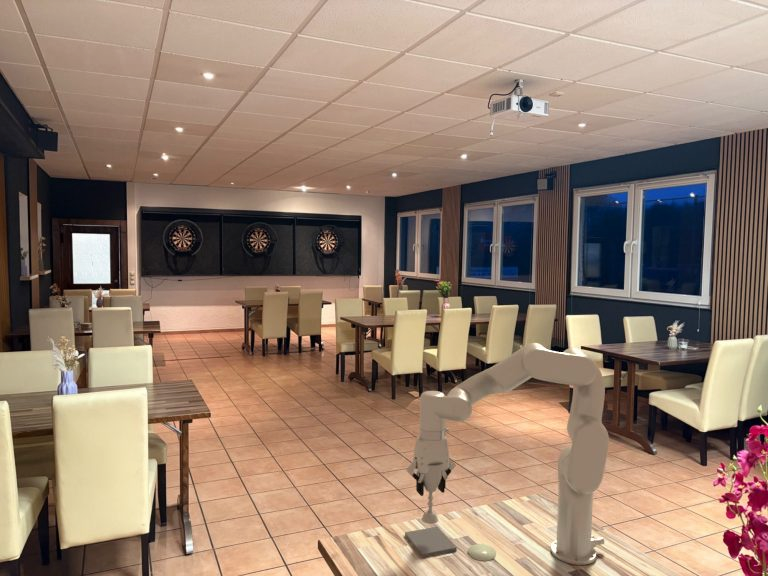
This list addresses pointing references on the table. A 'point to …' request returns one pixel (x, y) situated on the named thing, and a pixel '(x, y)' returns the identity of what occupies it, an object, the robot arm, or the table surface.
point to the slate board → (430, 541)
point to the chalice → (431, 491)
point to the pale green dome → (482, 552)
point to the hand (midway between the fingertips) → (430, 491)
